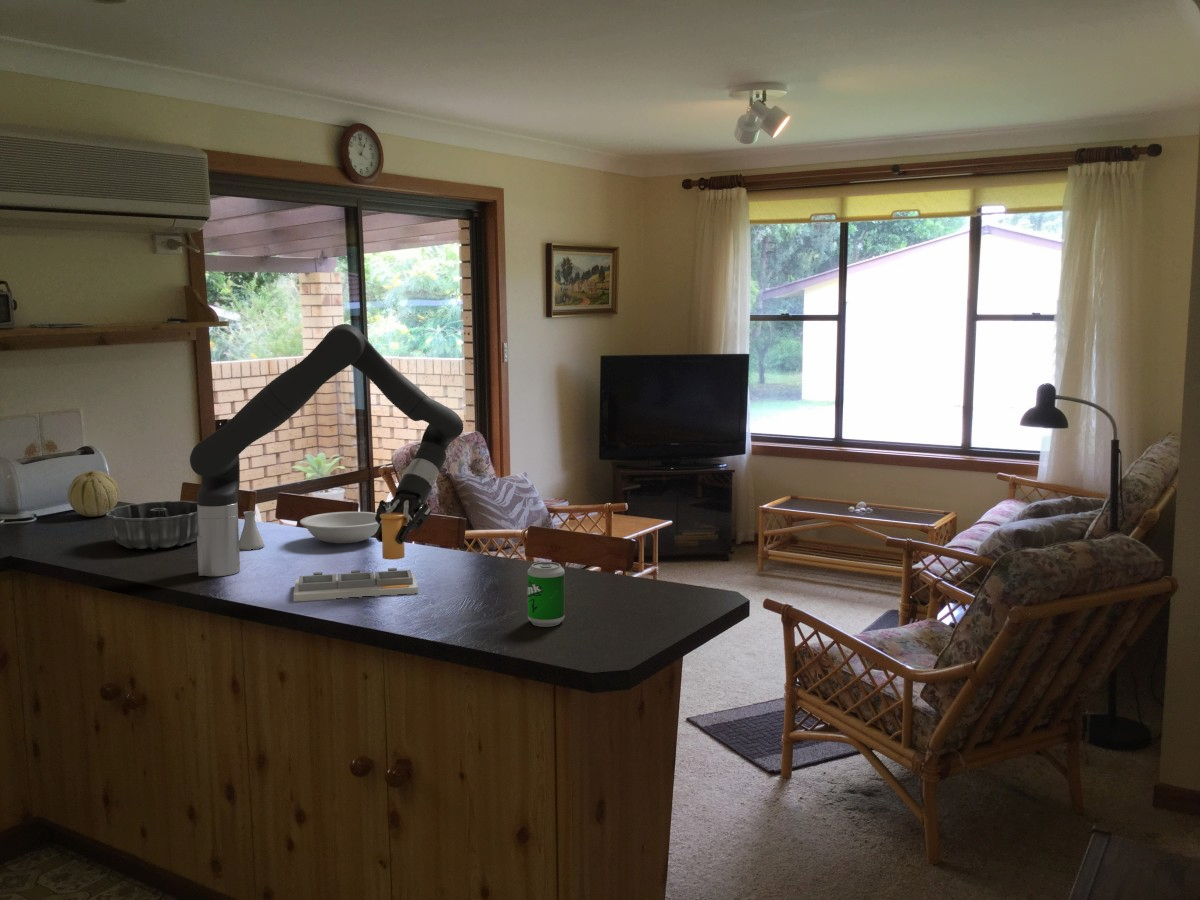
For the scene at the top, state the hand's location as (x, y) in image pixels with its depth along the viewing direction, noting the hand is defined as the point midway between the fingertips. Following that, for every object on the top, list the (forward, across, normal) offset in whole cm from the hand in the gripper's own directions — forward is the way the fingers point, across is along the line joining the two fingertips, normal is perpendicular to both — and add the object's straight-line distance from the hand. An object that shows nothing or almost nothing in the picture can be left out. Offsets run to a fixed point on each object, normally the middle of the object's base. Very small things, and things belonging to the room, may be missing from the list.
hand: (388, 540), depth 226 cm
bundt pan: (-1, -88, +17) cm, 90 cm away
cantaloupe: (-15, -140, +31) cm, 145 cm away
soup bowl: (-18, -44, +34) cm, 58 cm away
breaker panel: (+11, -7, +5) cm, 14 cm away
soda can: (+14, +45, +3) cm, 47 cm away
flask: (-6, -61, +22) cm, 65 cm away
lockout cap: (+2, 0, +4) cm, 5 cm away
